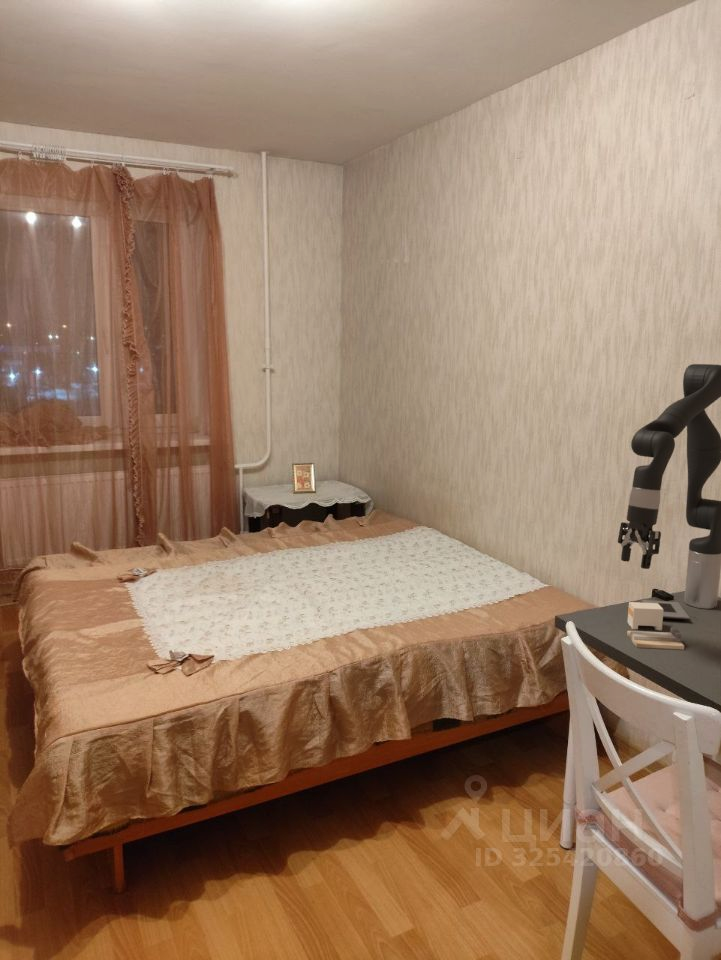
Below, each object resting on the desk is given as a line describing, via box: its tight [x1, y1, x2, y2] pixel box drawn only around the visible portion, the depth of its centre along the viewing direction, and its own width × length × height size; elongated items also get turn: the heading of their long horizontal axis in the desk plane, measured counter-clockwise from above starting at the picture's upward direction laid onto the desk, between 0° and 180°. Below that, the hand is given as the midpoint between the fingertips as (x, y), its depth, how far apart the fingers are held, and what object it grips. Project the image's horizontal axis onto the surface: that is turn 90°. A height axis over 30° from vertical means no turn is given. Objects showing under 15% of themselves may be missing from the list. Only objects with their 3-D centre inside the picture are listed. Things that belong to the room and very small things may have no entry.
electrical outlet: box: [641, 599, 690, 621], centre depth 203 cm, size 13×10×2 cm
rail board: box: [626, 626, 685, 651], centre depth 182 cm, size 9×12×3 cm
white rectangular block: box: [627, 601, 664, 631], centre depth 193 cm, size 8×5×6 cm, turn 84°
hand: (634, 564), depth 182 cm, fingers open, 8 cm apart
